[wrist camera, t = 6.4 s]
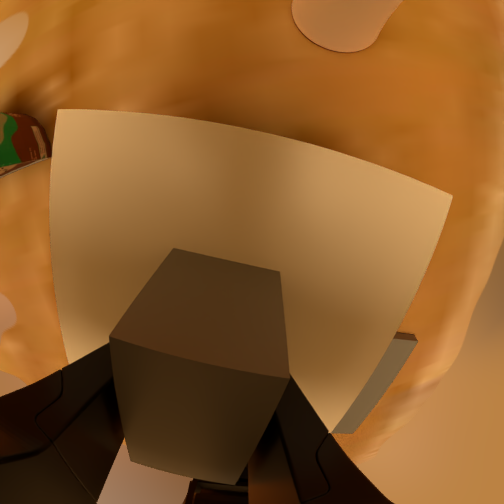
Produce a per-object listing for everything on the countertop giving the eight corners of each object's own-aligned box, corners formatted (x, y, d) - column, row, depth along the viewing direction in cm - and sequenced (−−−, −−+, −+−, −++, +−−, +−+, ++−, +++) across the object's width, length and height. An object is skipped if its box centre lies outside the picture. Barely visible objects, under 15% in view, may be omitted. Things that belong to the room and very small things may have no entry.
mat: (351, 426, 28) (353, 433, 27) (230, 415, 27) (229, 422, 26) (414, 334, 22) (418, 341, 21) (262, 309, 22) (262, 317, 21)
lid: (319, 432, 12) (329, 515, 8) (82, 379, 12) (41, 450, 7) (439, 190, 8) (549, 242, 3) (72, 110, 7) (-46, 113, 3)
